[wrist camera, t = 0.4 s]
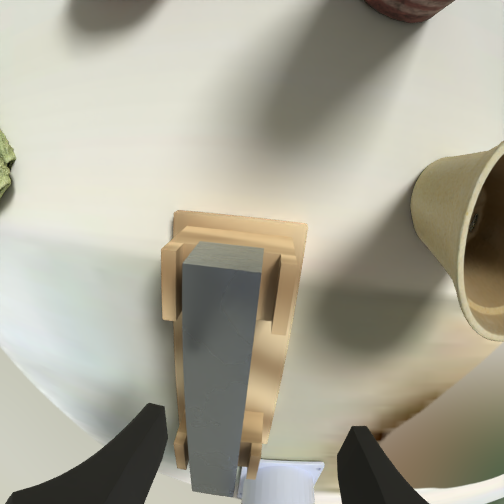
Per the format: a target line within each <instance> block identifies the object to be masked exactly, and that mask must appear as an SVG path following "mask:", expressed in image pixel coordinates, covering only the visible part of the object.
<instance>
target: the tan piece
mask: <svg viewBox="0 0 504 504" xmlns="http://www.w3.org/2000/svg"><path fill="white" fill-rule="evenodd" d="M307 230H308V226H307V224H305V223H297V222H288V221H280V220H271V219H262V218H253V217H243V216H234V215H224V214H214V213H204V212H193V211H182V210H177V211H176V212H174V226H173V239H172V240H171V241H170V242H169V243H167V244H166V245H165V246H164V247H163V248H162V249H161V287H162V318H163V319H164V320H170V321H173V329H174V354H175V373H176V389H177V403H178V415H179V429H178V432H177V435H176V438H175V441H174V450H175V457H176V463H177V468H179V469H184V470H186V469H187V465H188V461H189V453H188V441H187V428H186V413H185V396H184V373H183V339H182V264H183V262H184V261H185V259H186V258H187V257H188V256H189V254H190V253H191V252H192V250H193V249H194V248H195V247H196V245H197V244H198V243H199V242H200V241H204V242H213V243H222V244H231V245H240V246H249V247H258V248H264V254H263V264H262V274H261V283H260V291H259V300H258V308H257V316H256V325H255V333H254V341H253V349H252V357H251V365H250V373H249V381H248V389H247V397H246V405H245V412H244V420H243V428H242V435H241V443H240V450H239V458H238V465H237V466H242V467H247V476H246V479H253V480H255V479H256V475H257V471H258V467H259V463H260V458H261V448H262V444H267V441H268V437H269V433H270V428H271V424H272V420H273V415H274V411H275V406H276V402H277V397H278V392H279V388H280V383H281V378H282V373H283V368H284V363H285V358H286V353H287V348H288V343H289V338H290V332H291V327H292V321H293V316H294V310H295V305H296V299H297V293H298V287H299V281H300V275H301V269H302V263H303V256H304V250H305V243H306V237H307Z"/></svg>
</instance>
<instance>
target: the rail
mask: <svg viewBox="0 0 504 504" xmlns="http://www.w3.org/2000/svg"><path fill="white" fill-rule="evenodd" d="M263 254H264V248H258V247H249V246H240V245H231V244H222V243H213V242H204V241H200V242H199V243H198V244H197V245H196V247H195V248H194V249H193V250H192V252H191V253H190V254H189V256H188V257H187V258H186V259H185V261H184V262H183V264H182V339H183V373H184V396H185V413H186V428H187V441H188V453H189V464H190V474H191V484H192V491H195V492H201V493H207V494H213V495H220V496H227V497H233V494H234V487H235V480H236V472H237V465H238V458H239V450H240V443H241V435H242V428H243V420H244V412H245V405H246V397H247V389H248V381H249V373H250V365H251V357H252V349H253V341H254V333H255V325H256V316H257V308H258V300H259V291H260V283H261V274H262V264H263Z"/></svg>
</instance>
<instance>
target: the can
mask: <svg viewBox="0 0 504 504" xmlns="http://www.w3.org/2000/svg"><path fill="white" fill-rule="evenodd" d="M365 1H366V3H367V4H368V5H370V6H371V7H372V8H374V9H375V10H377V11H378V12H379V13H381V14H384V15H386V16H388V17H390V18H392V19H395V20H399V21H404V22H408V23H415V22H423V21H425V20H427V19H430V18H431V17H433V16H434V15H435V14H437V13H438V12H439V11H441V10H442V9H444V8H445V7H446V6H448V5H449V4H450V3H452V2H453V1H455V0H365Z"/></svg>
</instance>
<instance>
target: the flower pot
mask: <svg viewBox="0 0 504 504" xmlns="http://www.w3.org/2000/svg"><path fill="white" fill-rule="evenodd" d="M411 214H412V220H413V224H414V228H415V231H416V233H417V235H418V237H419V238H420V239H421V241H422V242H423V243H424V244H425V245H426V246H427V248H428V249H429V250H430V251H431V252H432V254H433V255H434V256H435V257H436V259H437V260H438V261H439V262H440V264H441V265H442V266H443V267H444V269H445V270H446V271H447V273H448V274H449V275H450V277H451V278H452V280H453V283H454V286H455V289H456V292H457V297H458V301H459V304H460V307H461V310H462V312H463V314H464V316H465V318H466V320H467V321H468V323H469V325H470V326H471V327H472V328H473V329H474V330H475V331H476V333H478V334H479V335H481V336H482V337H484V338H486V339H489V340H493V341H504V141H502V142H501V143H500V144H499V145H498V146H496V147H494V148H492V149H491V150H489V151H484V152H478V153H473V154H467V155H460V156H454V157H445V158H441V159H439V160H437V161H435V162H433V163H431V164H430V165H429V166H427V167H426V168H425V170H424V171H423V172H422V173H421V175H420V176H419V178H418V180H417V182H416V184H415V186H414V189H413V193H412V197H411ZM475 214H477V220H476V222H475V225H474V227H473V229H472V230H471V231H470V230H469V226H470V224H471V223H472V221H473V218H474V216H475Z"/></svg>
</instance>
